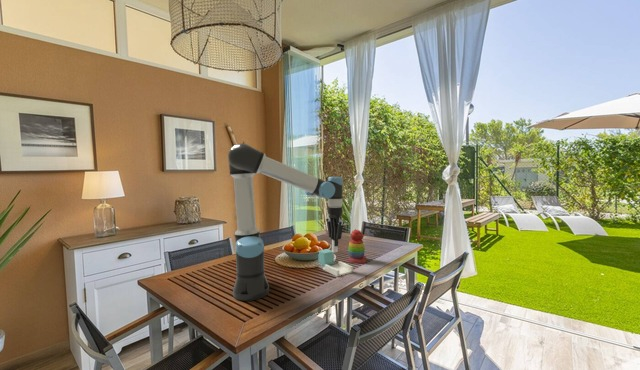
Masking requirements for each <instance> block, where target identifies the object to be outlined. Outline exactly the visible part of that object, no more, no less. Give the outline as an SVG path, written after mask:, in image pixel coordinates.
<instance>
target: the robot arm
mask: <svg viewBox="0 0 640 370" xmlns="http://www.w3.org/2000/svg"><path fill="white" fill-rule="evenodd" d="M227 154H228V155H227V161H228V166H229V167H228V169H229V175H230V177H232V179H233V187H234V200H235V201H234V202H235V213H236V214H235V215H236V224H237V225H236V226H237V227H236V230H235V232H234V244H235V245H234V249H235V265H236V267H235V268H236V279H235V283H234V286H233V290H232V296H233V298H234V299H235V300H237V301H245V302H246V301H248V302H249V301H255V300H259V299H263V298H264V297H266V296H267V295H269V293H270V285H269V282H268V280H267V277H266V274H265V273H266V272H265V251H264V250H265V244H264V241H263V239H262V238H261V233H260V231H261V230H260V229H259V228H257V222H256V219H257V218H256V208H255V193H254V179H253V178H254V176H255V175H257V174H262V175H265V176H267V177H269V178H273V179H275V180H277V181H280V182H282V183H285V184H287V185H290V186H293V187H295V188H297V189H299V190H303V191H304V193H305V195H306V196H311V197H319V198H323V199H327V206H328V207H327V214H328V215H329V216H328V218H326V219H325V220H326V223H327V231H328V238H330V239H331V251H332V252H333V253H338V252H339V251H338V248H339V240H341V239H342V234H343V228H344V225H345V221H344V220H342V217H341V216H342V215H343V190H344V189H343V188H344V183H343V178H342V177H341V176H329V177H328V178H327V180H324V179H321V178H318V177H317V176H313V175H311V174H309V173H306V172H304V171H302V170H299V169H297V168H295V167H293V166H290V165H287V164H286V163H284V162H280V161H277V160H276V159H273V158H270V157H268V156H267V155H266V153H265V152H263V151H260V150H258V149H256V148H254V147H252V146H251V145H248V144H246V143H237V144H235V145H233V146H232V147H231V148H230V149H229V151H228V153H227Z"/></svg>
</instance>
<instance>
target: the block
mask: <svg viewBox="0 0 640 370" xmlns="http://www.w3.org/2000/svg"><path fill="white" fill-rule="evenodd" d="M318 252H319V254H318V264H319V263H320V264H322V265H323V266H325V265H326V264H327V265H332V264H334V263H335V259H334V255H335V254H334V253H335V252H334V253H333V252H332V249H328V248H325V249H321V250H318ZM318 252H317V253H318Z"/></svg>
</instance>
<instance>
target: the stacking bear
mask: <svg viewBox="0 0 640 370" xmlns="http://www.w3.org/2000/svg"><path fill="white" fill-rule="evenodd" d="M350 237H351V238H350V239H351V240H350V241H349V244H348V249H347V251H348V256H349V258H348V261H349V262H350V263H354V264H358V265H359V264H361V265H362V264H366V263H367V256H365V253H366V250H365V248H366V247H365V244H364V240H363V239H364V237H365V235H364V234H363V233H362V231H361V230H359V229H356V228H354V230H352V231H351V232H350Z"/></svg>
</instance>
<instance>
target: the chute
mask: <svg viewBox="0 0 640 370" xmlns="http://www.w3.org/2000/svg"><path fill="white" fill-rule="evenodd" d="M317 268H320V269H321V270H323V271H325V272H327V273H329V274H330V275H333V276H334V277H341V275H342V276H345V274H346V275H348V274H352V272H353V273H354V266H352V265H350V264H348V263H345V262H344V261H341V260H339V261H337V263H336V262H334V264H332V265H327V264H326V265H325V266H323V265H321V266H318V267H317Z"/></svg>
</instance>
